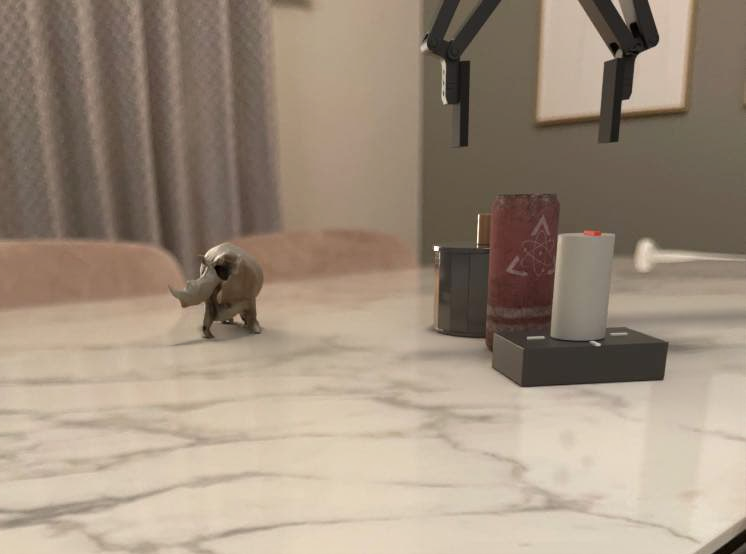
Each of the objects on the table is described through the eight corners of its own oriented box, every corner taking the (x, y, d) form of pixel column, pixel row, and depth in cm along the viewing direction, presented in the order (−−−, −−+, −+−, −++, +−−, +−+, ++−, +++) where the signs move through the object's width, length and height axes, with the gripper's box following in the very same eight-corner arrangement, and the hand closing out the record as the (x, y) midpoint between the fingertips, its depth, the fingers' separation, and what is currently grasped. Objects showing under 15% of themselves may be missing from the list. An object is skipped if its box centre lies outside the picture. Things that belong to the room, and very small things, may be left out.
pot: (506, 316, 101) (510, 242, 98) (554, 339, 87) (561, 253, 83) (419, 320, 100) (420, 245, 97) (453, 343, 85) (456, 256, 82)
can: (558, 345, 83) (570, 192, 78) (537, 356, 78) (548, 193, 73) (499, 341, 86) (507, 192, 81) (475, 352, 81) (482, 194, 76)
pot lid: (519, 249, 96) (522, 210, 95) (556, 257, 86) (559, 214, 84) (421, 252, 95) (422, 213, 93) (446, 261, 84) (447, 217, 83)
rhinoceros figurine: (283, 295, 103) (252, 189, 91) (275, 380, 96) (241, 278, 84) (221, 302, 104) (182, 198, 92) (209, 386, 97) (165, 286, 85)
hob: (619, 360, 76) (623, 324, 75) (665, 380, 68) (671, 340, 67) (490, 366, 75) (492, 329, 74) (522, 387, 67) (525, 347, 66)
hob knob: (542, 333, 72) (550, 229, 69) (591, 331, 73) (601, 228, 69) (562, 341, 68) (571, 232, 65) (614, 339, 69) (625, 231, 65)
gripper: (676, -135, 71) (648, 142, 80) (385, -137, 69) (388, 150, 77) (724, -169, 65) (689, 138, 73) (404, -172, 62) (404, 147, 70)
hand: (534, 145), depth 75 cm, fingers open, 13 cm apart
